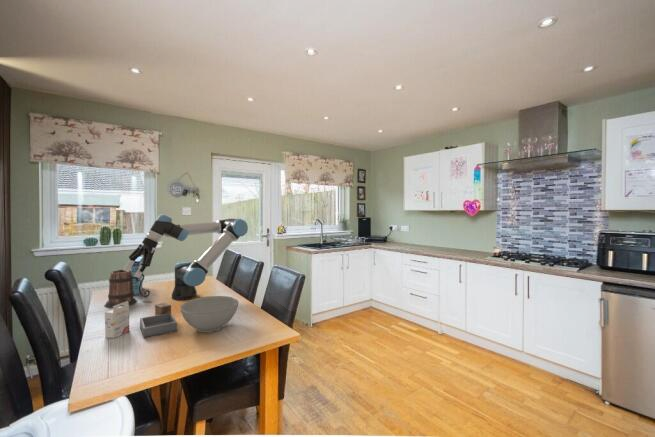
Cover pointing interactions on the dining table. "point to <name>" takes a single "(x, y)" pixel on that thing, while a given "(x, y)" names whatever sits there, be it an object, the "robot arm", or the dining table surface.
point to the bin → (158, 325)
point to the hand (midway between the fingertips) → (131, 274)
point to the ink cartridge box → (117, 320)
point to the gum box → (133, 271)
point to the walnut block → (162, 308)
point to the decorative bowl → (209, 312)
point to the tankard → (122, 288)
